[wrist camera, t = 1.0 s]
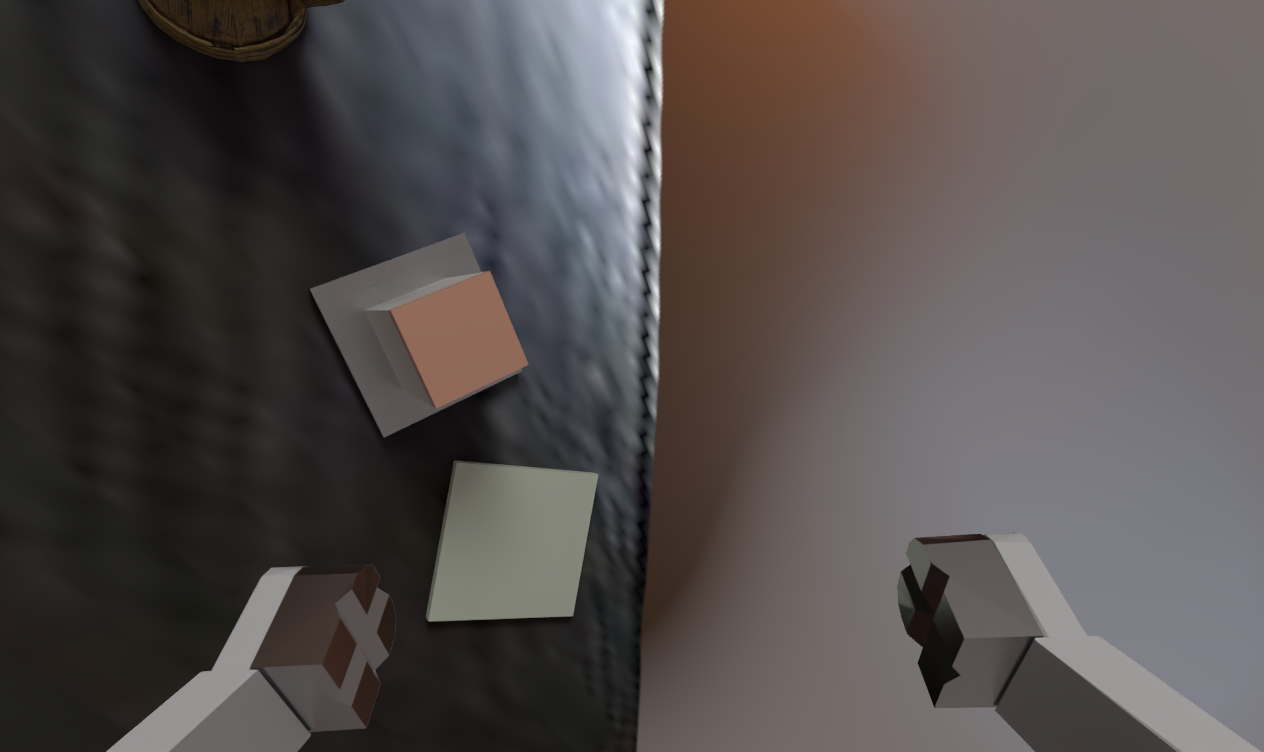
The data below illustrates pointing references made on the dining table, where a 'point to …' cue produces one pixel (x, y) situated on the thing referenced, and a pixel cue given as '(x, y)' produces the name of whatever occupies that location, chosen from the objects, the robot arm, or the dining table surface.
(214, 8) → the wooden mug
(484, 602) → the pad
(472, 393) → the square base plate
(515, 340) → the pink tall block
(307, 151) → the dining table surface
